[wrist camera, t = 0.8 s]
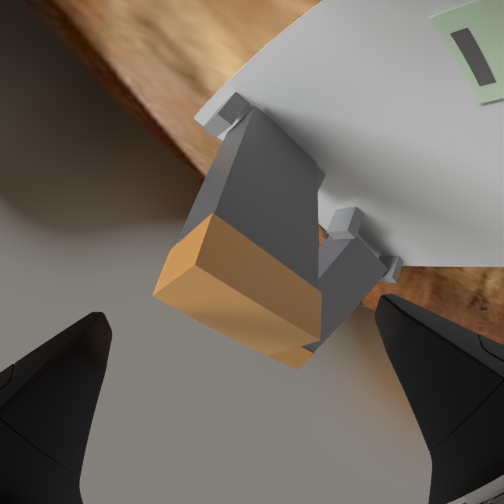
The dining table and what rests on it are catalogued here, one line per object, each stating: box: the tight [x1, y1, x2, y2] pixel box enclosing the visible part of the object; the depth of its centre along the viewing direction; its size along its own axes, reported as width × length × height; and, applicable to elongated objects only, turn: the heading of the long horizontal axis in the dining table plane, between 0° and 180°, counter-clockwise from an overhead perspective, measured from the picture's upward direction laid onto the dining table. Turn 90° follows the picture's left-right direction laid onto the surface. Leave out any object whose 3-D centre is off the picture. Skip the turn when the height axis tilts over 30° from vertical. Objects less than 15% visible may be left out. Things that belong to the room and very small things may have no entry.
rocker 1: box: [153, 106, 322, 355], centre depth 13 cm, size 3×5×11 cm
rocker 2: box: [254, 236, 388, 369], centre depth 23 cm, size 3×5×11 cm, turn 55°
